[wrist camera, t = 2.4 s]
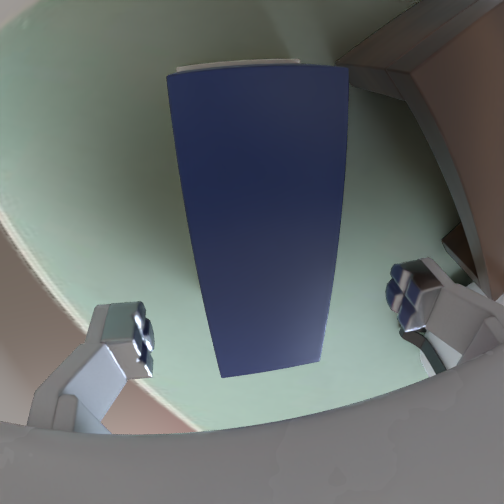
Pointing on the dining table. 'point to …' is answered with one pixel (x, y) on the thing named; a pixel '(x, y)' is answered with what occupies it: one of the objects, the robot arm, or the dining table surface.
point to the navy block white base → (262, 202)
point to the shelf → (451, 113)
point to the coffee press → (437, 345)
